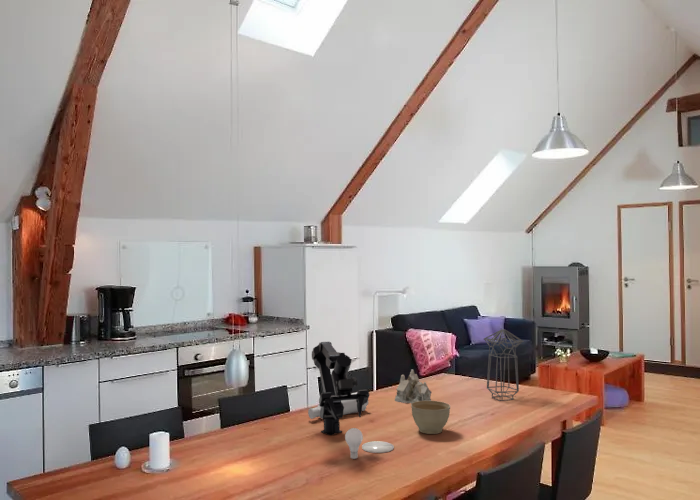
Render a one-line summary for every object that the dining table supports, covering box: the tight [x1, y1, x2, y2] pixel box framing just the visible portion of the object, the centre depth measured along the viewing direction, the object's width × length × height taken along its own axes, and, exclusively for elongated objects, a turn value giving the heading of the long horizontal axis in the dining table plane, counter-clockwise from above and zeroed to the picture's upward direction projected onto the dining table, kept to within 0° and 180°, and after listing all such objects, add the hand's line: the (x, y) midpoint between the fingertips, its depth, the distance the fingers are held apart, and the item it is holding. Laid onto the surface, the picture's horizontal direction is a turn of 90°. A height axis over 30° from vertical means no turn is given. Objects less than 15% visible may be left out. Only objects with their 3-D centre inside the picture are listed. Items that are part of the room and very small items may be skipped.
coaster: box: [361, 440, 394, 454], centre depth 229 cm, size 12×12×1 cm
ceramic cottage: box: [394, 369, 432, 404], centre depth 301 cm, size 16×16×15 cm
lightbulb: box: [344, 427, 364, 460], centre depth 217 cm, size 6×6×11 cm
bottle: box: [307, 391, 369, 420], centre depth 274 cm, size 9×9×30 cm
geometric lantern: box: [483, 328, 525, 402], centre depth 305 cm, size 16×16×35 cm
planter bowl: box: [410, 400, 451, 435], centre depth 250 cm, size 16×16×11 cm
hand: (348, 417), depth 223 cm, fingers open, 9 cm apart
